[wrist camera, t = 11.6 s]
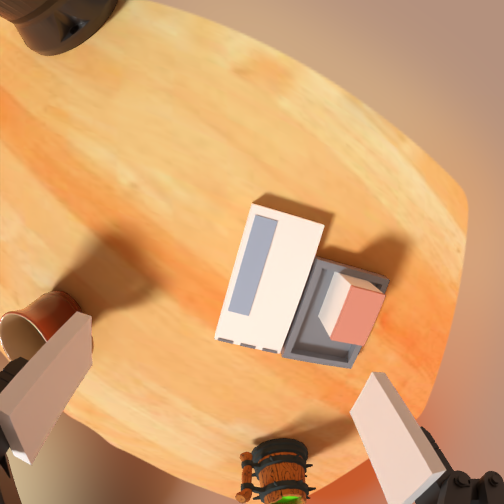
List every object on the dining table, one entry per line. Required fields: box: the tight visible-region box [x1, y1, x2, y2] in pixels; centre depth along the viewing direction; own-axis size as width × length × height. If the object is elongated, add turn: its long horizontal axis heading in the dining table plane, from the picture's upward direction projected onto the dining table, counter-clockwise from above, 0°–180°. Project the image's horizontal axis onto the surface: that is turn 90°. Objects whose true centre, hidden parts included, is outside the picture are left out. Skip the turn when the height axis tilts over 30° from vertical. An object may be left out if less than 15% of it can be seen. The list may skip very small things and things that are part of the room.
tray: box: [281, 256, 390, 369], centre depth 35 cm, size 13×10×2 cm
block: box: [318, 272, 386, 346], centre depth 32 cm, size 6×4×6 cm, turn 164°
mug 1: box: [0, 291, 94, 361], centre depth 30 cm, size 12×9×10 cm
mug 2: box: [236, 438, 316, 504], centre depth 36 cm, size 13×10×12 cm
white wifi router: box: [214, 203, 325, 354], centre depth 34 cm, size 16×8×2 cm, turn 164°
